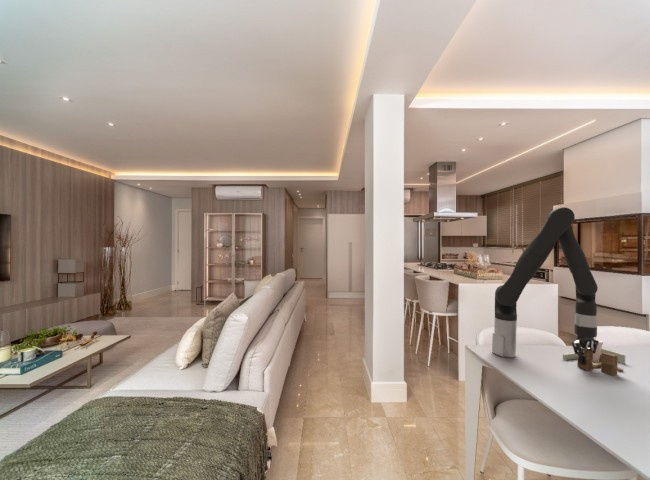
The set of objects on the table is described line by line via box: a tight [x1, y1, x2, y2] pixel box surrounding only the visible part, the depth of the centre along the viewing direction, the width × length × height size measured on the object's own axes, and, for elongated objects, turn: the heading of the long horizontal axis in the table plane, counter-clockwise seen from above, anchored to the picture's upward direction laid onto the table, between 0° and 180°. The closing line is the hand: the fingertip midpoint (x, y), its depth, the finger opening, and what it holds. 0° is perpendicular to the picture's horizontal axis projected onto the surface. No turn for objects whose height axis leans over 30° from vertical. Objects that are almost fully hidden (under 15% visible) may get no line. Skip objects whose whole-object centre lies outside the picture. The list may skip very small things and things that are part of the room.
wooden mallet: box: [577, 348, 602, 371], centre depth 139 cm, size 20×10×8 cm, turn 108°
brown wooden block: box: [600, 352, 624, 376], centre depth 130 cm, size 10×4×8 cm, turn 108°
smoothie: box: [593, 337, 604, 363], centre depth 142 cm, size 6×6×14 cm
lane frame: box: [562, 347, 626, 365], centre depth 142 cm, size 24×11×4 cm, turn 108°
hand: (584, 363), depth 133 cm, fingers closed on wooden mallet, 3 cm apart
